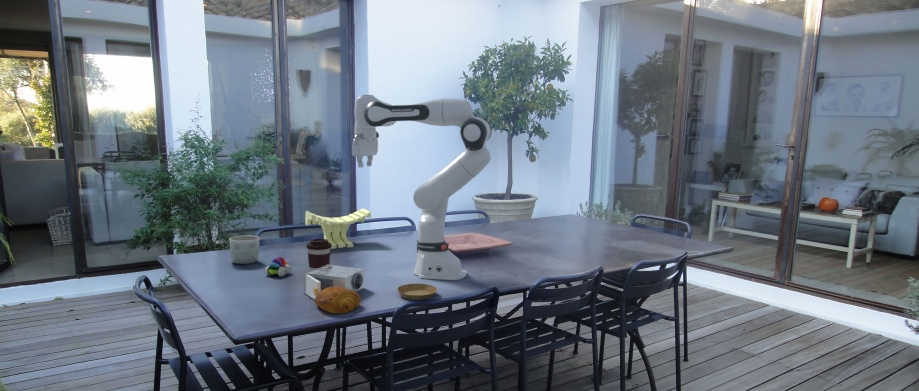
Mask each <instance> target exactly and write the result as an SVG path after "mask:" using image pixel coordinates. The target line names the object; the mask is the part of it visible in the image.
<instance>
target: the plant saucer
mask: <svg viewBox="0 0 919 391" xmlns="http://www.w3.org/2000/svg"><path fill="white" fill-rule="evenodd" d="M437 290H438V289H437V287H436V286H434V285H432V284H431V285H430V284H427V283H407V284H402V285H400V286H398V287H397V289H396V291H397V292H398V293H399V295H400V296H401V297H403V298H404V299H407V300H411V301H412V300H415V301H421V300H427V299H429V298H431V297H432V296H434V295H435V294H436V292H438V291H437Z"/></svg>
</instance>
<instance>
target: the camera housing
mask: <svg viewBox="0 0 919 391" xmlns="http://www.w3.org/2000/svg"><path fill="white" fill-rule="evenodd" d="M307 273H308V275H310V276H312V277H313V278H315V279H317V280H318V281H320V282H321V291H322V290H324V289H325V288H329V287H334V286H336V287H342V288H346V289H350V290H352V291H354V292H356V293H357V292H359V291H361V290H363V289H364V288H365V269H364V268H360V267H351V266H342V265H334V264H329V265H325V266H323V267H320V268H318V269H316V270H313V271H311V272H310V271H308V272H307Z"/></svg>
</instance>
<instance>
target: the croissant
mask: <svg viewBox="0 0 919 391" xmlns="http://www.w3.org/2000/svg"><path fill="white" fill-rule="evenodd" d="M361 301H362V297H361V296H360V295H359V294H358V293H357V292H354V291H352V290H350V289H346V288H342V287H336V286H334V287H329V288H325V289H324V290H322V291H320V292H319V293H318V294H317V296H316V297H315V300H314V302H315V304H316V305H317V306H318V307H319V308H320V309H322V310H323V311H325V312H327V313H331V314H346V313H349V312H352V311H353V310H355V308H356V309H358V307H360V302H361Z"/></svg>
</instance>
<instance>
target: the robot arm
mask: <svg viewBox="0 0 919 391" xmlns="http://www.w3.org/2000/svg"><path fill="white" fill-rule="evenodd" d="M473 110H474V109H473V106H472V104H471V103H470V102H469V101H468V100H466V99H462V98H438V99H437V98H435V99H432V100H427V101H423V102H418V103H415V104H400V105H397V104H396V105H392V104H390V103H387V102H386V101H385V102H384V101H382V100H380V99H379V98H377V97H375V96H374V95H373V94H363V95H360V96H358V97H357V98H356V99H355V102H354V112H353V113H354V115H353V116H354V119H355V120H354V121H355V122H354V131H353V132H354V138H353V139H352V144H351V155H352V157H356V161H357V167H358V168H364V162H363V159H364V157H367V161H366V167H372V165H373V163H372V162H373V160H374V156H376V155H377V154H378V149H379V140H378V139H379V137H380V134H379V132H378V131H377V129H376V128H378V127H390V126H391V127H392V126H393V125H395V123H396V122H416V123H421V124H426V125H430V126H436V127H448V126H449V127H451V126H452V127H453V126H454V127H458V128H460V131H459V132H460V133H459V134H460V137H461V141H462V142H463V144H464V146H465V149H464V150H463V151H462V152H461V153H460V154H458V156H457V157H455V158H454V159H453V160H452V161H451V162H450V163H448V164H447V165H445V167H443V168H442V169H441V170H439V171H438V172H437V173H435V174H434V175H432V176H431V177H430V178H428V179H427V180H426V181H424V182H423V183H422V184H420V186H418V187H417V188H416V190H414V193H413V203H414V205H415V206H416V207H417V208H419V209H420V210H421V213H420V216H419V220H418V232H417V234H418V235H417V240H416V254H417V255H416V261H415V267H414V271H413V274H414V275H416V276H417V277H419V278H420V279H427V280H429V279H430V280H441V281H442V280H445V281H459V280H462V279H463V278H466V276H467V271H466V270H464V269H463V267H462V262H461V260H460V258H458V257H457V256H456V255H455V254H454V253H452V252H451V251H450V250H449V246H450V242H446V241H445V231H446V230H445V229H446V228H445V224H446V216H447V211H448V206H449V199H450V197H452V196H453V195H454V194H456V193H457V192H458V191H460V190H461V189H463V187H464V186H466V185H467V184H468V183H470V182H472V180H473V179H475V178H476V177H477V176H478V175H479V174H480V173H482V171H483V170H484V169H485V168H486V167H487V166H488V164H489V163H490V162H491V158H492V157H491V152H490V150H489V149H488V148H487V145H486V143H487V141H488V140H490V138H491V136H492V133H493V132H492V130H493V129H492V125H491V124H490V122H489V121H488V120H487V119H485V118H483V117H481V116H479V115H478V114H474V111H473Z"/></svg>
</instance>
